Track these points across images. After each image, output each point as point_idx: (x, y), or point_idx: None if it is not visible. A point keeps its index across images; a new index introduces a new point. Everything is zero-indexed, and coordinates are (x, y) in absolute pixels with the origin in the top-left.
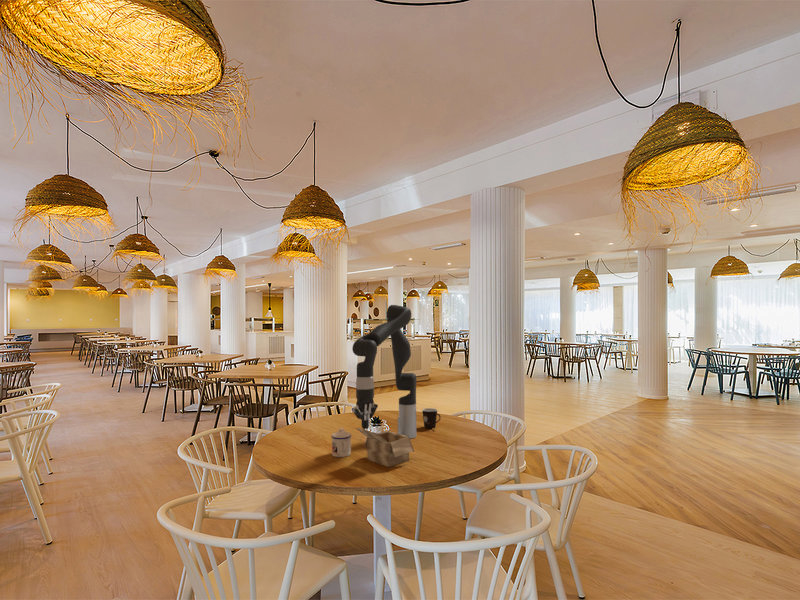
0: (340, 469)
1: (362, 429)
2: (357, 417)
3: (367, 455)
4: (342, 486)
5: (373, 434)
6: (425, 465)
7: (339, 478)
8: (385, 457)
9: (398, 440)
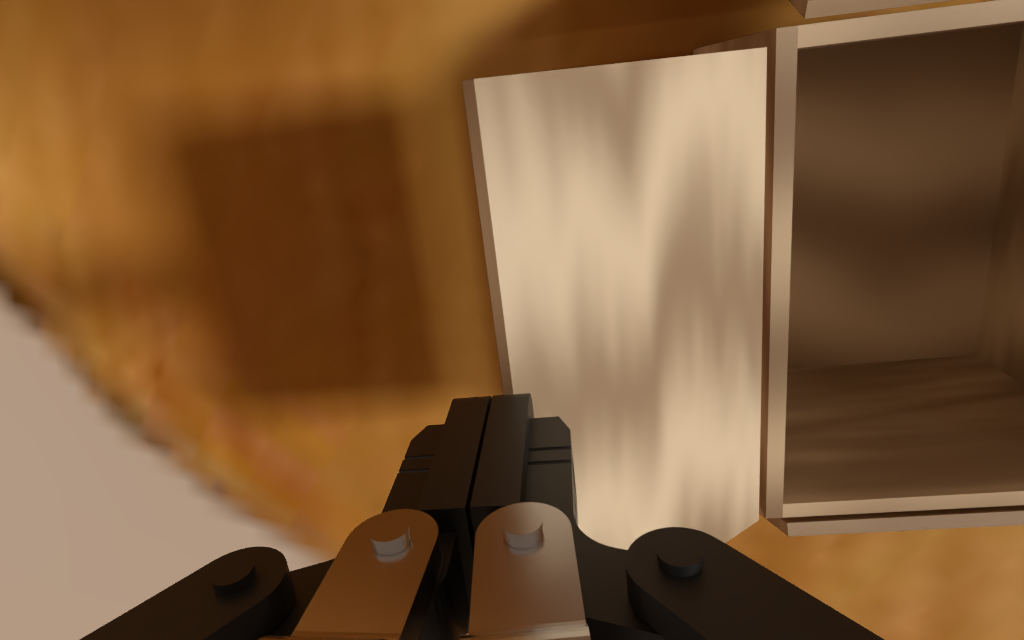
0: (311, 123)
1: (501, 322)
2: (175, 609)
3: (703, 49)
4: (182, 452)
5: (579, 526)
6: (965, 532)
7: (218, 311)
8: None
9: (943, 528)
